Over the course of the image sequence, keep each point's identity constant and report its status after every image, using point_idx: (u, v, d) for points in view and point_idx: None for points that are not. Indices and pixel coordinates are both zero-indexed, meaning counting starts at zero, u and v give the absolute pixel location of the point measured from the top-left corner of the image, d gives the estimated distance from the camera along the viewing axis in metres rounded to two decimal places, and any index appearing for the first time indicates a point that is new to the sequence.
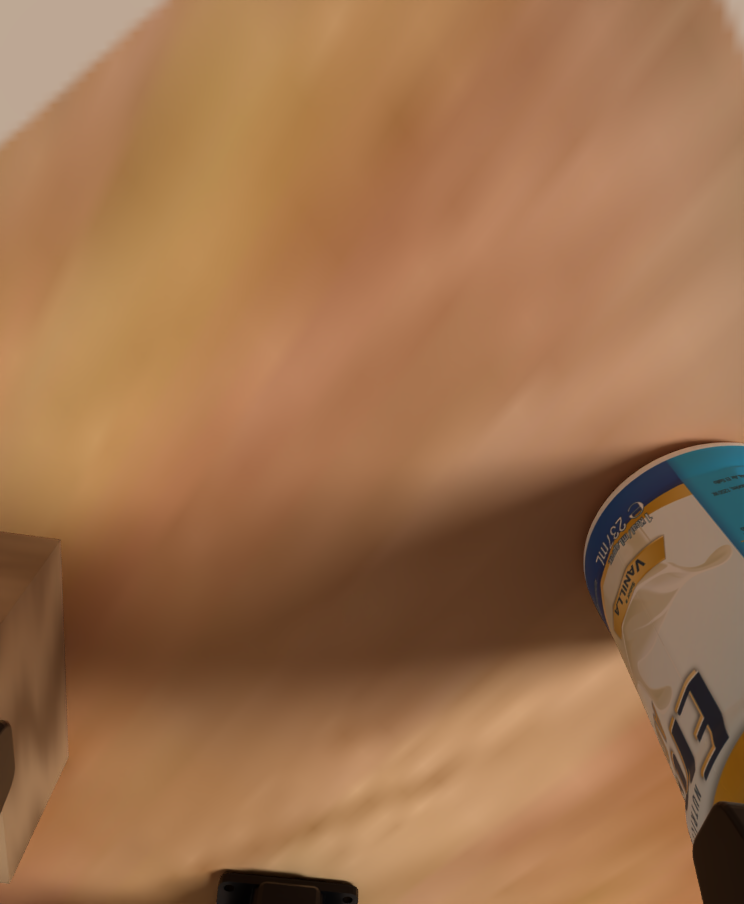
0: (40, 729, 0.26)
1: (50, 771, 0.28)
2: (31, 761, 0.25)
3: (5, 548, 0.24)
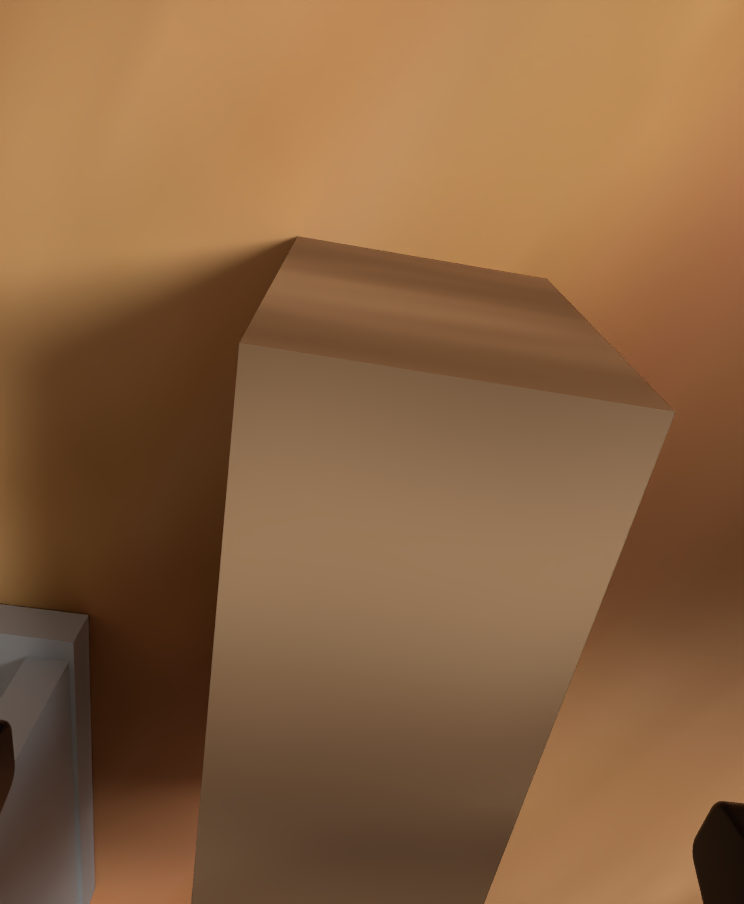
0: None
1: None
2: None
3: (460, 275, 0.10)
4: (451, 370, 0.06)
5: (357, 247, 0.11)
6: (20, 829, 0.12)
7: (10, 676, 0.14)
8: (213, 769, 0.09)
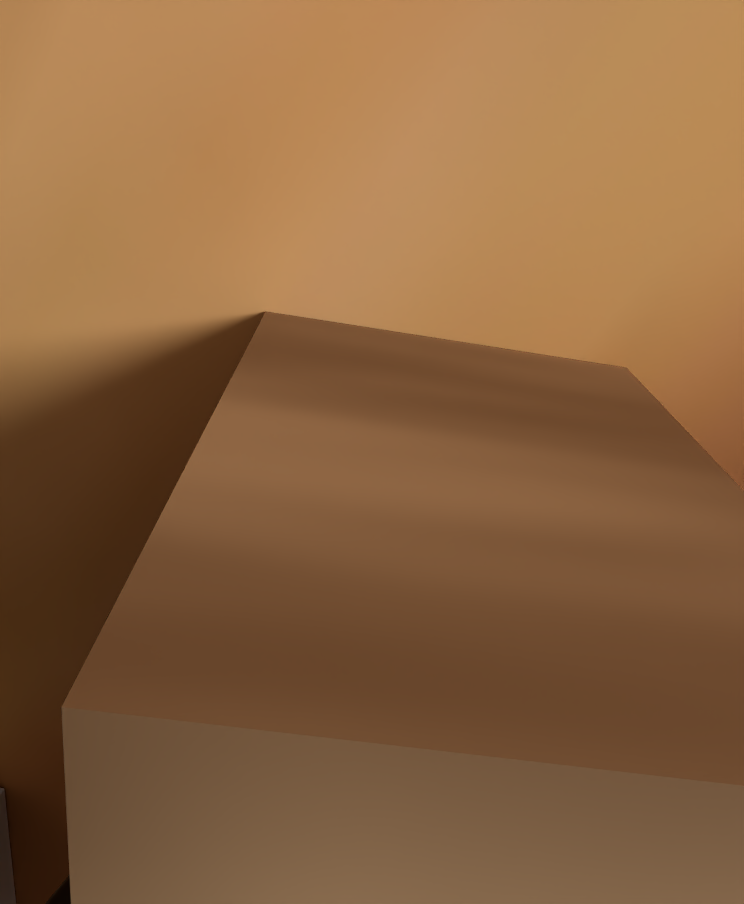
0: None
1: None
2: None
3: (509, 380, 0.07)
4: (554, 729, 0.03)
5: (352, 330, 0.07)
6: None
7: None
8: None
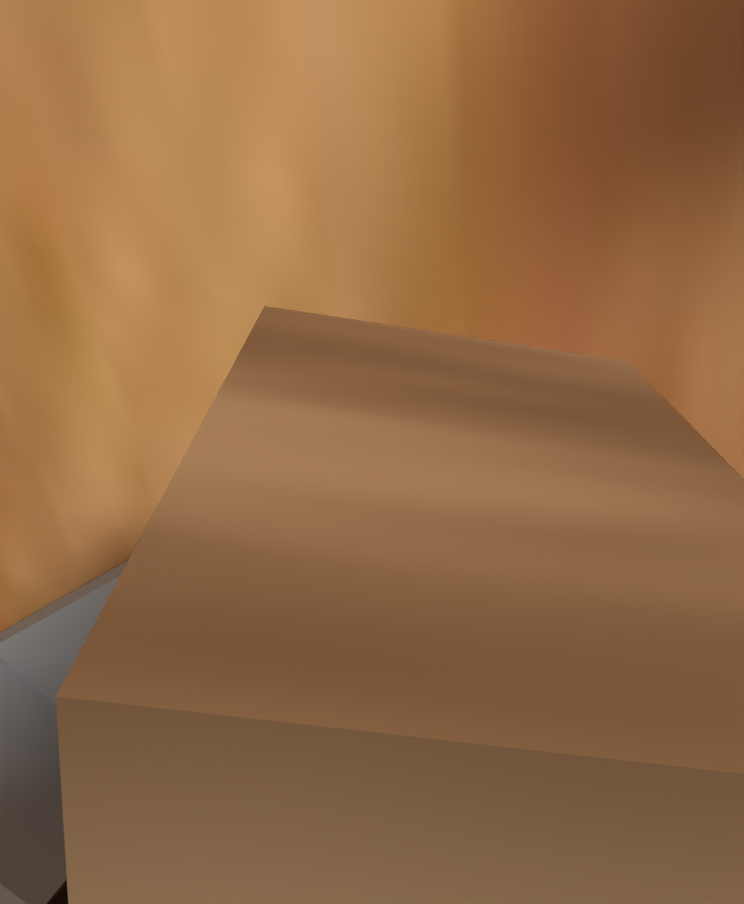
0: None
1: None
2: None
3: (509, 372, 0.07)
4: (557, 718, 0.03)
5: (352, 325, 0.07)
6: None
7: None
8: None
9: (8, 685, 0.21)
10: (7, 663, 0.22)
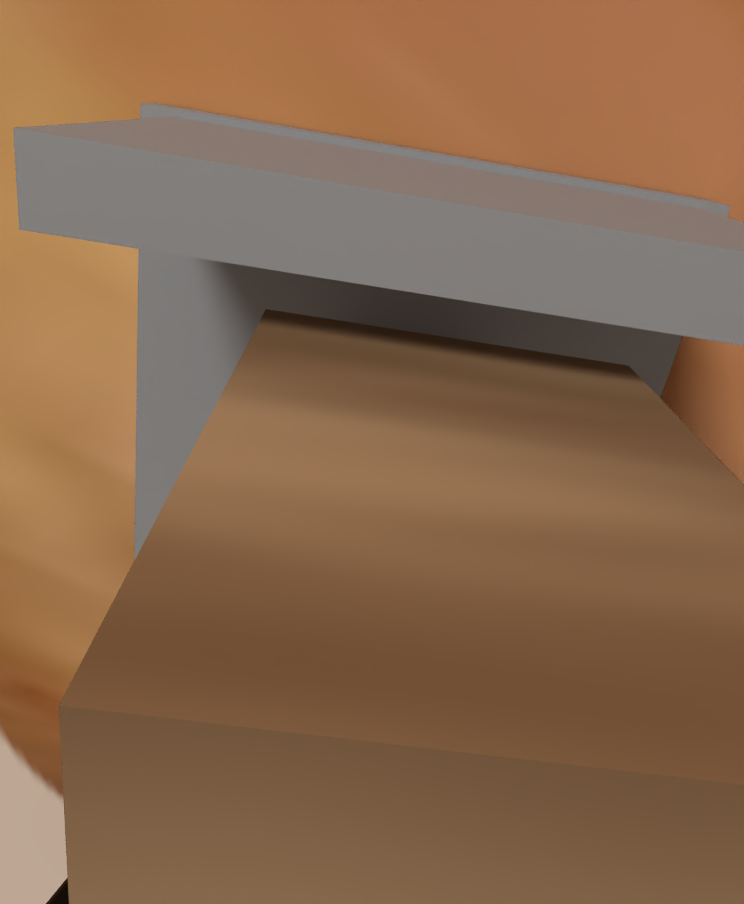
0: None
1: None
2: None
3: (510, 377, 0.07)
4: (557, 728, 0.03)
5: (353, 328, 0.07)
6: (266, 144, 0.08)
7: None
8: None
9: None
10: None
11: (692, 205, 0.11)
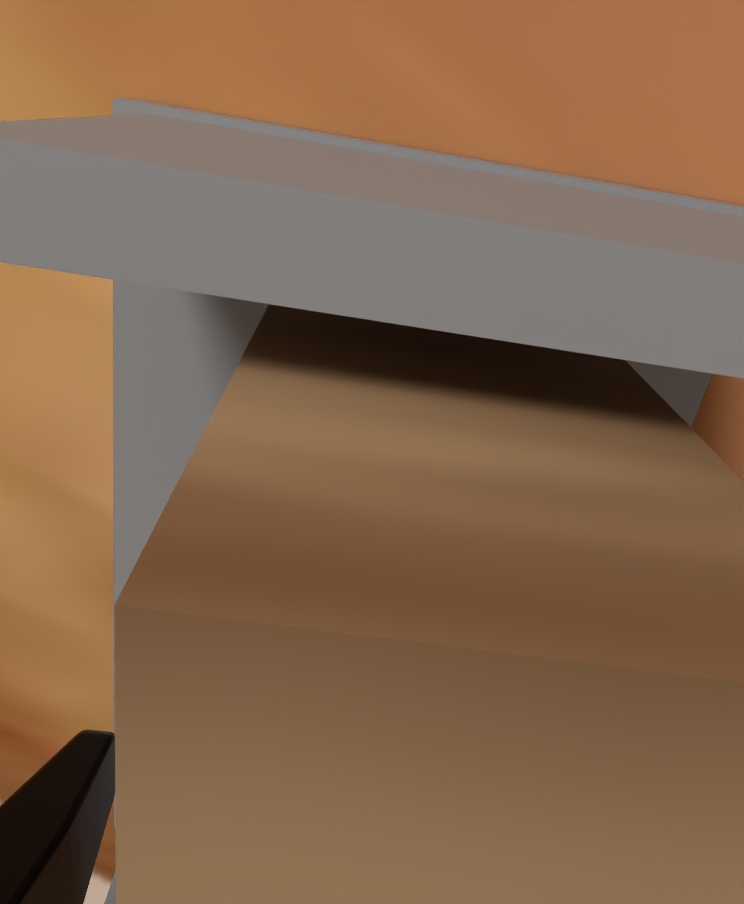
0: None
1: None
2: None
3: (503, 357, 0.07)
4: (535, 630, 0.03)
5: None
6: (252, 145, 0.07)
7: None
8: None
9: None
10: None
11: (733, 213, 0.10)
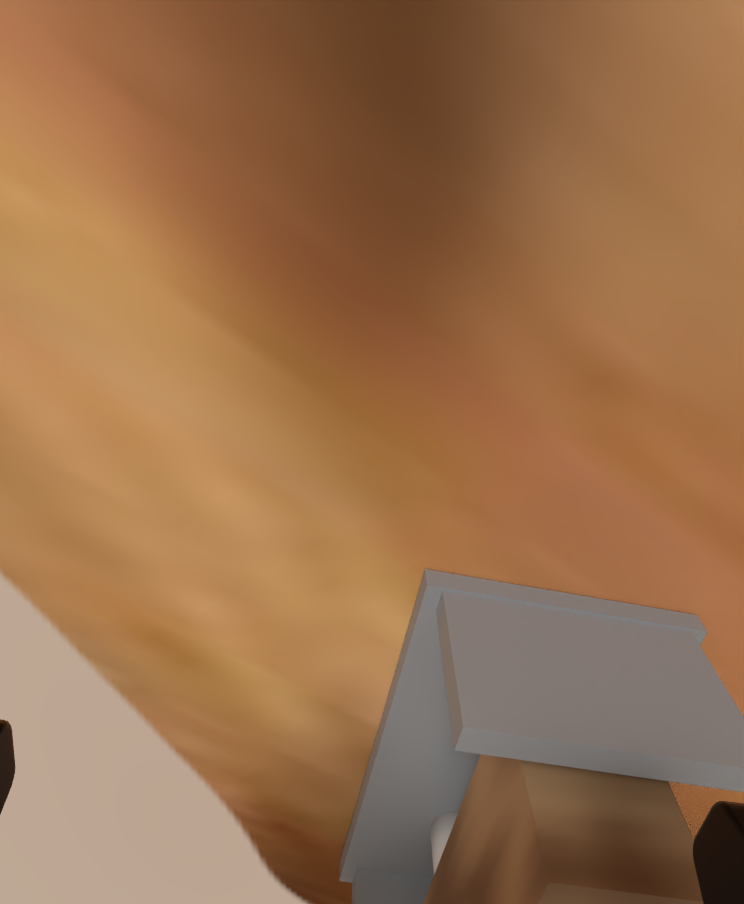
0: None
1: None
2: None
3: None
4: (630, 884, 0.16)
5: None
6: (509, 653, 0.19)
7: None
8: None
9: (371, 885, 0.27)
10: (360, 870, 0.27)
11: (688, 630, 0.22)
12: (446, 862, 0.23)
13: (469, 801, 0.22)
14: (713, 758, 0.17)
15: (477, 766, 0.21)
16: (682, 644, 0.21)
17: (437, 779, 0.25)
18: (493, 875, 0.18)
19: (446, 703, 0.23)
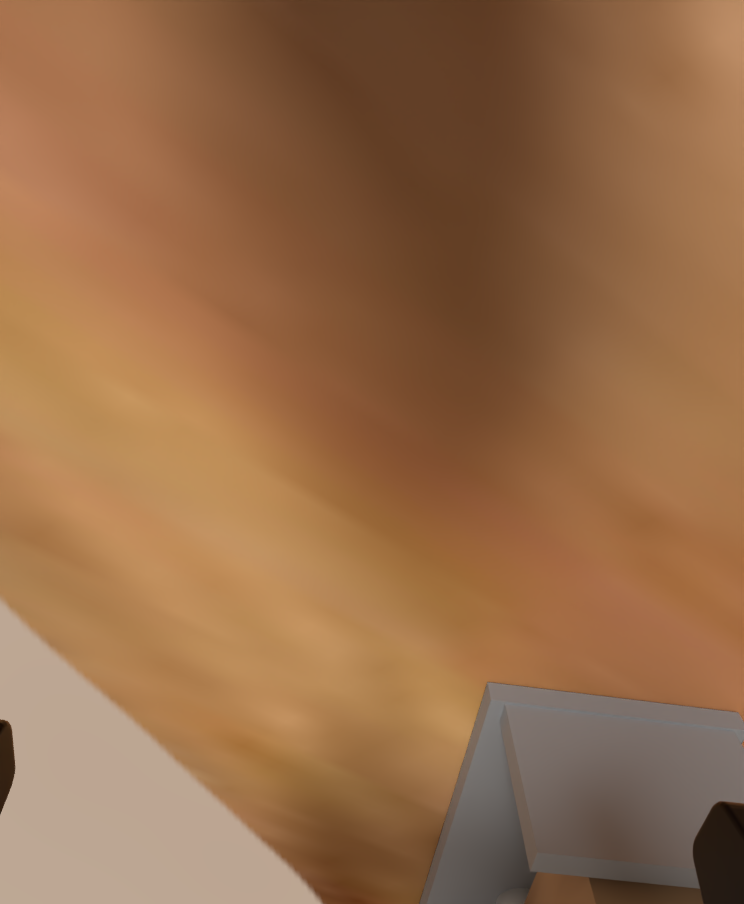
0: None
1: None
2: None
3: None
4: None
5: None
6: (571, 769, 0.22)
7: None
8: None
9: None
10: None
11: (731, 730, 0.24)
12: None
13: (536, 892, 0.24)
14: None
15: None
16: (726, 746, 0.23)
17: (502, 861, 0.27)
18: None
19: (509, 797, 0.26)
